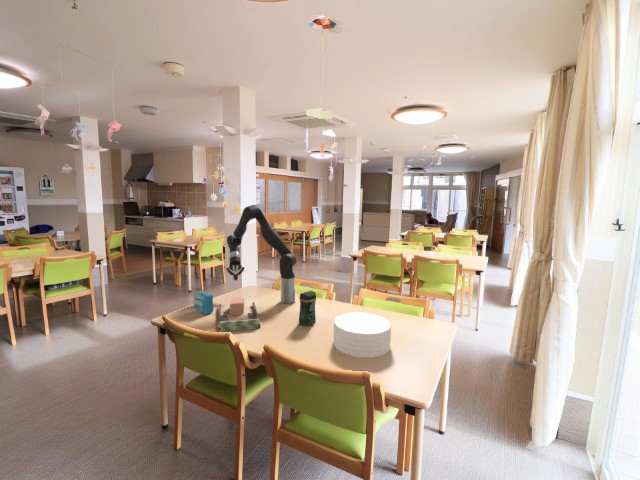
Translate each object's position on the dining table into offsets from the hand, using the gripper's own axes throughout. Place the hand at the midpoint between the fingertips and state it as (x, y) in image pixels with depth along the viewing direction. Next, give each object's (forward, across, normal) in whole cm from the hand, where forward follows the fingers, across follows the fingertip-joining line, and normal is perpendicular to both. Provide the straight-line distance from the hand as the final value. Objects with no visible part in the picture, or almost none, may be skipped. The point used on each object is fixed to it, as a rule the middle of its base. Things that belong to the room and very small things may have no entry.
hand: (235, 279), depth 223 cm
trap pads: (+33, 0, -12) cm, 35 cm away
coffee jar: (+46, +38, -26) cm, 65 cm away
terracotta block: (+26, 0, -5) cm, 26 cm away
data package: (+24, -20, -3) cm, 31 cm away
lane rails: (+33, 0, -13) cm, 36 cm away
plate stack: (+69, +58, -48) cm, 102 cm away
